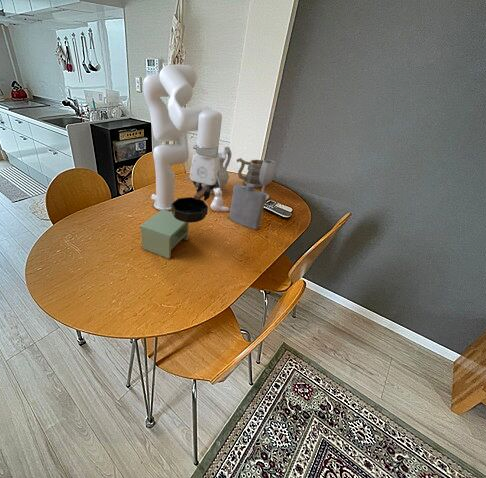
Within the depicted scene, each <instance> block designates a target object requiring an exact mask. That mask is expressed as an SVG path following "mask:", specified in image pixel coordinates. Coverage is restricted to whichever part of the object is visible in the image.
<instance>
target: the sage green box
mask: <svg viewBox="0 0 486 478" xmlns="http://www.w3.org/2000/svg"><path fill="white" fill-rule="evenodd" d="M189 227H190V222H182V221H179V220H177V219H176V218H175V217H174V216H173V213H172V211H170V210H168V211H166V210H159V211H158V212H157V213H155V214H154V215H152V216H150V217H149V218H148V219H147V220H146V221H144V222H143V223H142V224H140V225H139V229H140V232H141V234H140V235H141V246H142V250H145V251H148V252H150V253H153V254H155V255H158V256H160V257H164V258H166V259H170V258H171V257H172V254H171V253H172V250H173V249H174V248H175V247H176V245H178V244H179V242H181V241H182V240H185V241H188V240H189V230H190V228H189Z"/></svg>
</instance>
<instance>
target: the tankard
mask: <svg viewBox="0 0 486 478" xmlns="http://www.w3.org/2000/svg"><path fill="white" fill-rule="evenodd" d="M235 161H236V163H239V162H240V164H241V165H240V167H239V169H238V171H237V176H238V179H240V180H244V181H243V184H244V185H246V184H248V183H250V184H254V188H255V189H256V188H257V189H258V188H262V187H263V185H262V184H261V183H260V182H259V172H260V169H261V166H262V164H263V162H264V160H263V159H251V160H250V161H246V160H245V159H243V158H242V157H240V158H237V159H236V160H235ZM245 165H246V166H247V173H246V175H243V174H242V172H243V170H244V169H245Z"/></svg>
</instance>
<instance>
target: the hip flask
mask: <svg viewBox="0 0 486 478" xmlns="http://www.w3.org/2000/svg"><path fill="white" fill-rule="evenodd" d="M254 188H255V187H254V184H250V183H248V184H245V185H242V184H239V183H236V184H233V192H232V196H231V197H232V198H231V205H230V209H229V216H228V219H229V220H231V221H233V222H234V223H237V224H239V225H241V226H243V227H246V228H249V229H252V230H255V231H256V230H259V229H260V224H261V221H262V216H263V212H264V208H265V204H266V201H267V200H266V196H267V195H268V194H267V192H265V191H264V192H262V191H258V190H256V189H254Z"/></svg>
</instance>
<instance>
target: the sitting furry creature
mask: <svg viewBox="0 0 486 478" xmlns="http://www.w3.org/2000/svg"><path fill="white" fill-rule="evenodd" d="M213 191H214V194H213V195H214V197H213V200H212V201H211V203H210V209H211V210H212V211H213V212H221V213H222V212H223V213H228V212H230V209H229V207H228V206H224V204H223V203H224V199H223V190H222V188H221V189H220V188H216V189H215V188H214V190H213Z"/></svg>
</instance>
